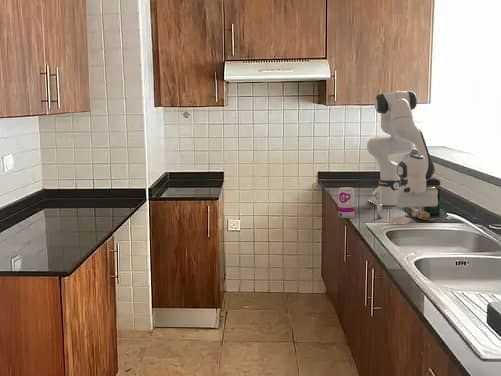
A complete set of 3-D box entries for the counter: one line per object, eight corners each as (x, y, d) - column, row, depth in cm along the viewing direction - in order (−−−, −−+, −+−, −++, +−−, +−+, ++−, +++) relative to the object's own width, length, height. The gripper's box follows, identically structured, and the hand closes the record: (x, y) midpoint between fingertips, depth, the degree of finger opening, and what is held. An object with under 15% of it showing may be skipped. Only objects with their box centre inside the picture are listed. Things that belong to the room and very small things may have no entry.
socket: (390, 222, 277) (390, 217, 277) (401, 221, 280) (401, 216, 279) (397, 224, 272) (397, 219, 271) (409, 223, 274) (409, 218, 273)
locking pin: (375, 218, 291) (375, 204, 290) (380, 217, 292) (380, 204, 291) (378, 219, 289) (378, 205, 288) (383, 218, 289) (383, 204, 289)
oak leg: (406, 214, 296) (406, 207, 296) (414, 213, 297) (414, 206, 296) (422, 219, 279) (422, 212, 279) (430, 219, 280) (430, 212, 280)
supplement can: (351, 218, 292) (350, 189, 290) (336, 217, 296) (335, 188, 294) (357, 216, 299) (356, 187, 297) (342, 215, 303) (341, 186, 301)
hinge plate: (403, 215, 296) (403, 214, 296) (413, 214, 298) (413, 213, 298) (425, 220, 279) (425, 220, 279) (436, 219, 281) (436, 218, 281)
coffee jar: (441, 215, 293) (441, 178, 291) (425, 215, 294) (425, 178, 292) (438, 211, 302) (438, 176, 300) (423, 211, 304) (423, 176, 301)
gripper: (435, 186, 286) (435, 213, 288) (394, 187, 285) (394, 215, 287) (440, 188, 280) (439, 216, 281) (398, 189, 279) (398, 217, 281)
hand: (416, 215), depth 284 cm, fingers closed
